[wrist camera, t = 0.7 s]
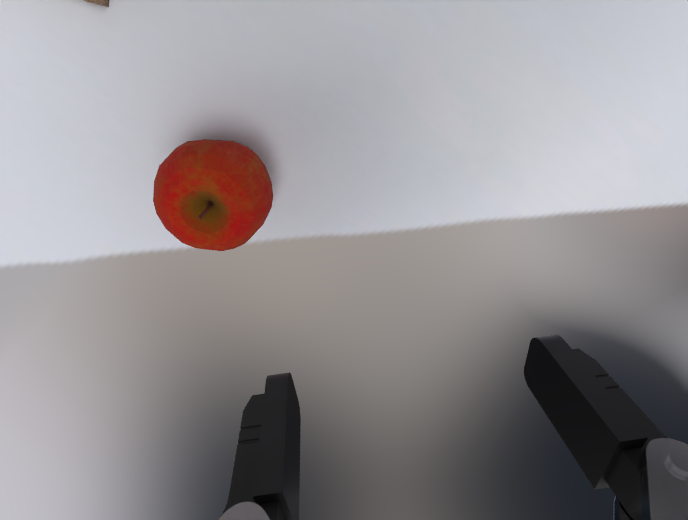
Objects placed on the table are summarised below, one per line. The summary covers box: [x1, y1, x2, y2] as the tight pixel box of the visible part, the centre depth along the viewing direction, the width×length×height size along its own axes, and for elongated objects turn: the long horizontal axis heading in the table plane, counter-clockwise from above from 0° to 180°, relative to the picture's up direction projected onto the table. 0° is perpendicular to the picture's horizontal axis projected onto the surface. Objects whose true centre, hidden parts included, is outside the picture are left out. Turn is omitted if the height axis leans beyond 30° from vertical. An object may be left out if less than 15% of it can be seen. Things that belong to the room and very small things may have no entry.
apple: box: [153, 140, 273, 251], centre depth 28 cm, size 9×8×11 cm
